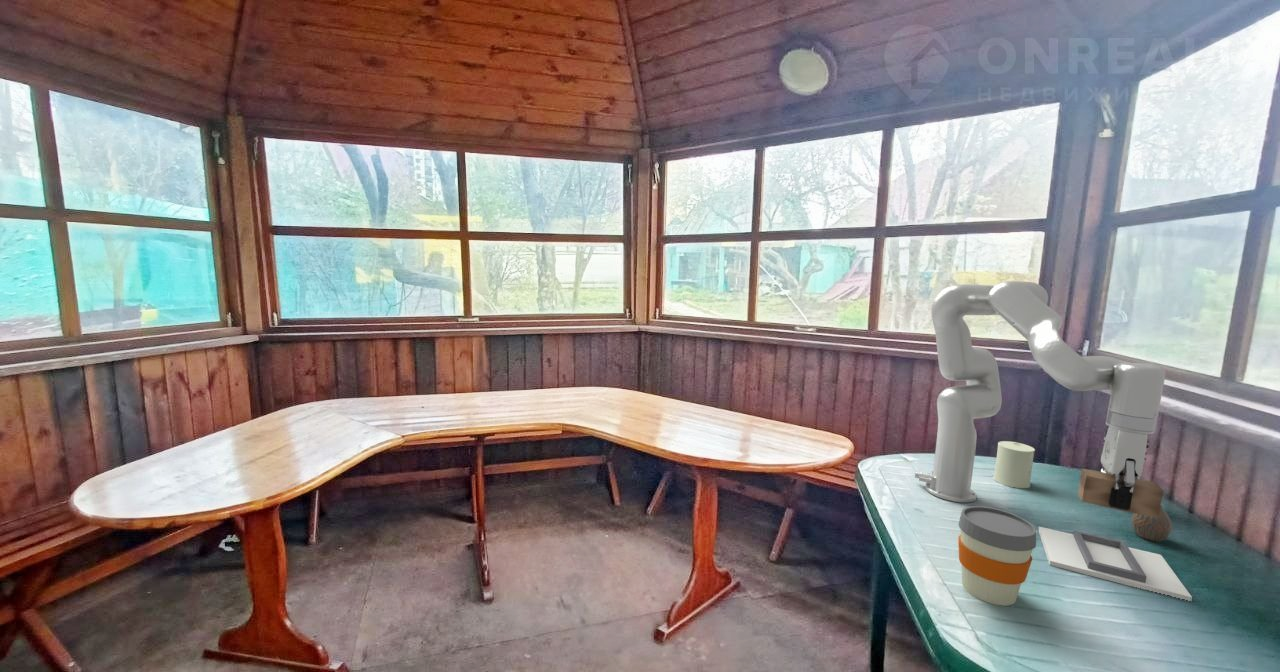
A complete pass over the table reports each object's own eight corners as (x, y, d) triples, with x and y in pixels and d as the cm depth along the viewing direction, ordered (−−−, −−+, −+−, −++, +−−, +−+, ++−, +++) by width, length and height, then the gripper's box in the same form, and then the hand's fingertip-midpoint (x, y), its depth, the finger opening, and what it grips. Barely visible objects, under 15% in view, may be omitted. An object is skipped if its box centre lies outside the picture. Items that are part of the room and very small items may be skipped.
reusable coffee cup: (956, 564, 110) (964, 499, 108) (1028, 589, 102) (1038, 519, 100) (946, 592, 100) (955, 521, 98) (1025, 621, 93) (1037, 545, 91)
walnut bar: (1081, 501, 110) (1086, 475, 110) (1077, 493, 115) (1082, 468, 114) (1157, 518, 104) (1163, 490, 103) (1150, 508, 108) (1155, 482, 107)
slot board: (1049, 564, 111) (1051, 554, 111) (1038, 530, 126) (1039, 520, 126) (1191, 601, 100) (1193, 590, 99) (1160, 558, 115) (1161, 548, 114)
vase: (1177, 546, 120) (1183, 512, 119) (1143, 542, 122) (1149, 508, 121) (1154, 532, 127) (1160, 499, 126) (1122, 528, 128) (1128, 495, 127)
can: (1028, 480, 157) (1033, 443, 155) (1031, 491, 149) (1037, 452, 148) (992, 473, 162) (997, 437, 160) (994, 483, 154) (998, 445, 153)
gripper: (1098, 409, 116) (1085, 484, 118) (1116, 428, 102) (1101, 513, 104) (1143, 415, 112) (1129, 493, 114) (1168, 436, 98) (1151, 524, 100)
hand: (1115, 501), depth 109 cm, fingers closed on walnut bar, 5 cm apart
